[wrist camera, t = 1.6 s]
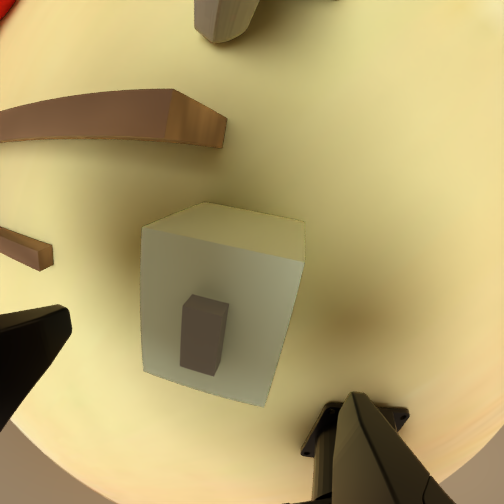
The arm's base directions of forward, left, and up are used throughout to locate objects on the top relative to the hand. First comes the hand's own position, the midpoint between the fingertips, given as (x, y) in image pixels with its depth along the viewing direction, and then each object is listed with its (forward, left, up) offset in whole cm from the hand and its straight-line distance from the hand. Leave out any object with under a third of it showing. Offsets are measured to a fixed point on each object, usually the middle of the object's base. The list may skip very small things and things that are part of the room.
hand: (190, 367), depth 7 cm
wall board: (+2, +13, -8) cm, 15 cm away
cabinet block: (0, 0, -8) cm, 8 cm away
